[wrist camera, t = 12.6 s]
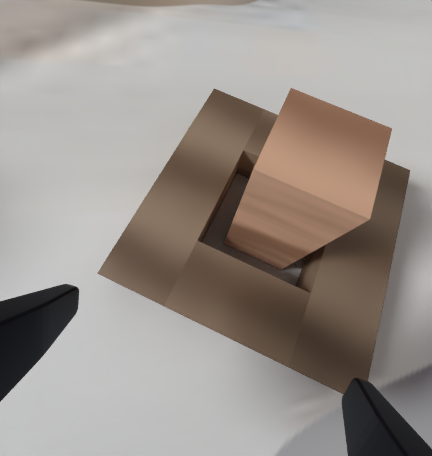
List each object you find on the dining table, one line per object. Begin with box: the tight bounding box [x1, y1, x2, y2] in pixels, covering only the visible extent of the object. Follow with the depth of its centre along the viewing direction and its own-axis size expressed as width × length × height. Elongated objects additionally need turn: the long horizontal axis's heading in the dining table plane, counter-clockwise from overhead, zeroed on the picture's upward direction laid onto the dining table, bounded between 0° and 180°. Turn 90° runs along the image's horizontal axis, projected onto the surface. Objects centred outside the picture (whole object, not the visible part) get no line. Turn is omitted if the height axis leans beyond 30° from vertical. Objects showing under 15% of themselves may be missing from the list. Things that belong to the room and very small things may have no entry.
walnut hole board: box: [98, 89, 410, 394], centre depth 18 cm, size 16×16×3 cm
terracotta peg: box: [224, 88, 392, 270], centre depth 15 cm, size 5×5×10 cm
